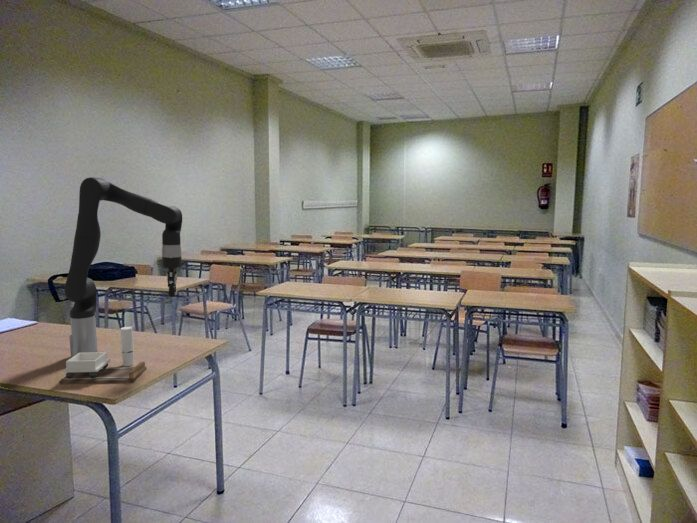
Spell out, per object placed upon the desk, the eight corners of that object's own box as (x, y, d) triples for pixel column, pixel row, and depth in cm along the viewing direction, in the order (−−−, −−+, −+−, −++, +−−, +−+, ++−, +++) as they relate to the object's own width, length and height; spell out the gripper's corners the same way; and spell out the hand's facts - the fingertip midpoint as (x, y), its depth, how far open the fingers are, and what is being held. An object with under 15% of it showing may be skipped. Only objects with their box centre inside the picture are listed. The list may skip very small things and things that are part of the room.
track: (59, 384, 178) (58, 374, 178) (77, 370, 192) (77, 362, 192) (133, 382, 180) (133, 373, 180) (146, 369, 194) (146, 360, 194)
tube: (124, 362, 201) (122, 326, 199) (135, 362, 202) (133, 326, 200) (121, 366, 197) (118, 329, 195) (132, 366, 197) (130, 329, 195)
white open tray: (63, 378, 179) (62, 362, 178) (78, 367, 191) (77, 352, 190) (97, 378, 180) (96, 361, 179) (111, 367, 192) (110, 351, 191)
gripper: (163, 253, 209) (164, 291, 211) (160, 257, 196) (161, 298, 198) (182, 253, 211) (182, 290, 213) (180, 257, 198) (181, 297, 200)
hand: (172, 294), depth 206 cm, fingers open, 8 cm apart
